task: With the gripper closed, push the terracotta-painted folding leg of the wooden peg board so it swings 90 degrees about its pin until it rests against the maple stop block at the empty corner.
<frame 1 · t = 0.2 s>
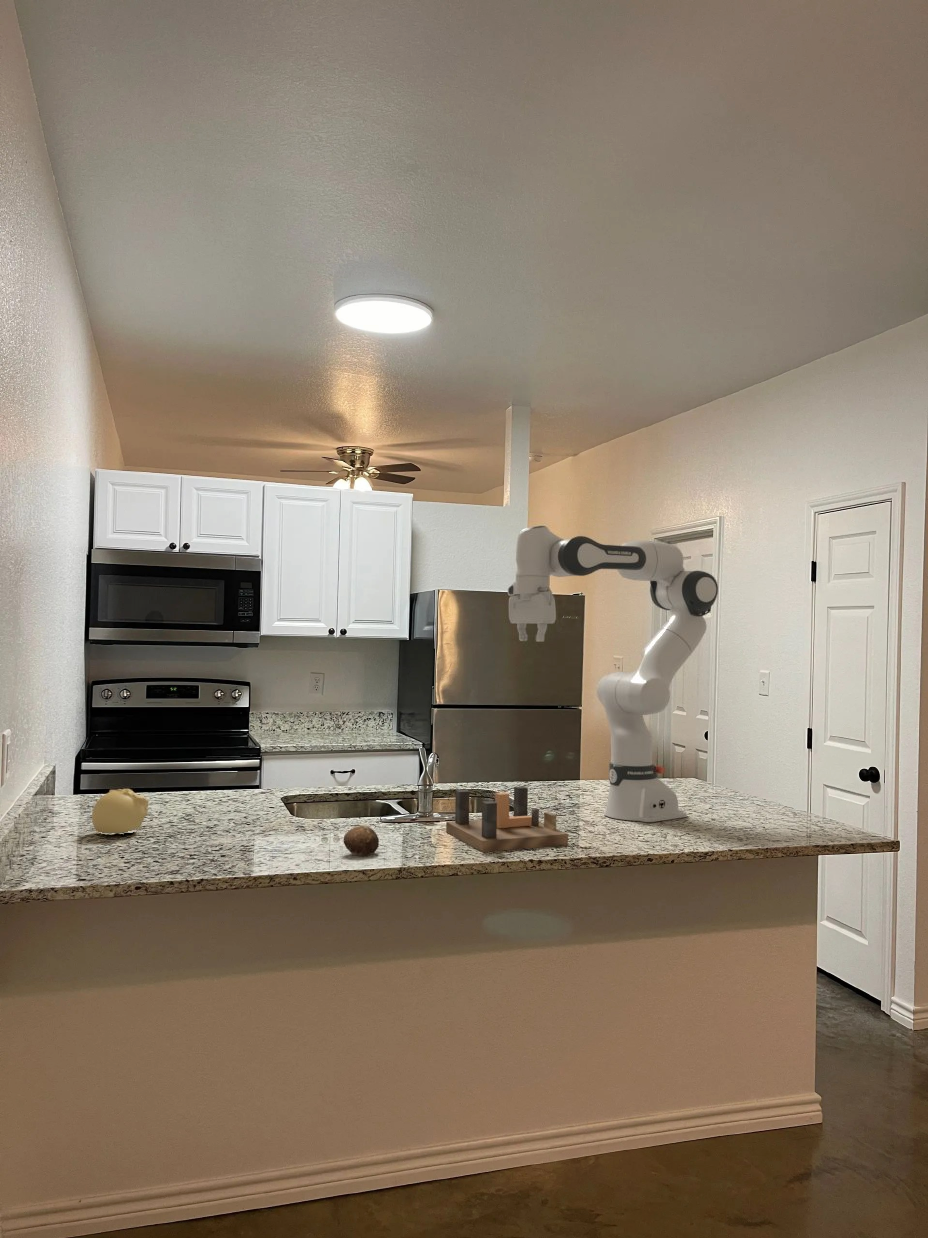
hand: (531, 641, 242), 47 cm above the countertop, fingers open, 8 cm apart
sculpture: (118, 835, 223), on the countertop
brown rounded lump: (361, 854, 207), on the countertop
wooden peg board: (505, 838, 224), on the countertop
swing leg: (513, 809, 225), point 7 cm above the countertop, hinge at 0.0°
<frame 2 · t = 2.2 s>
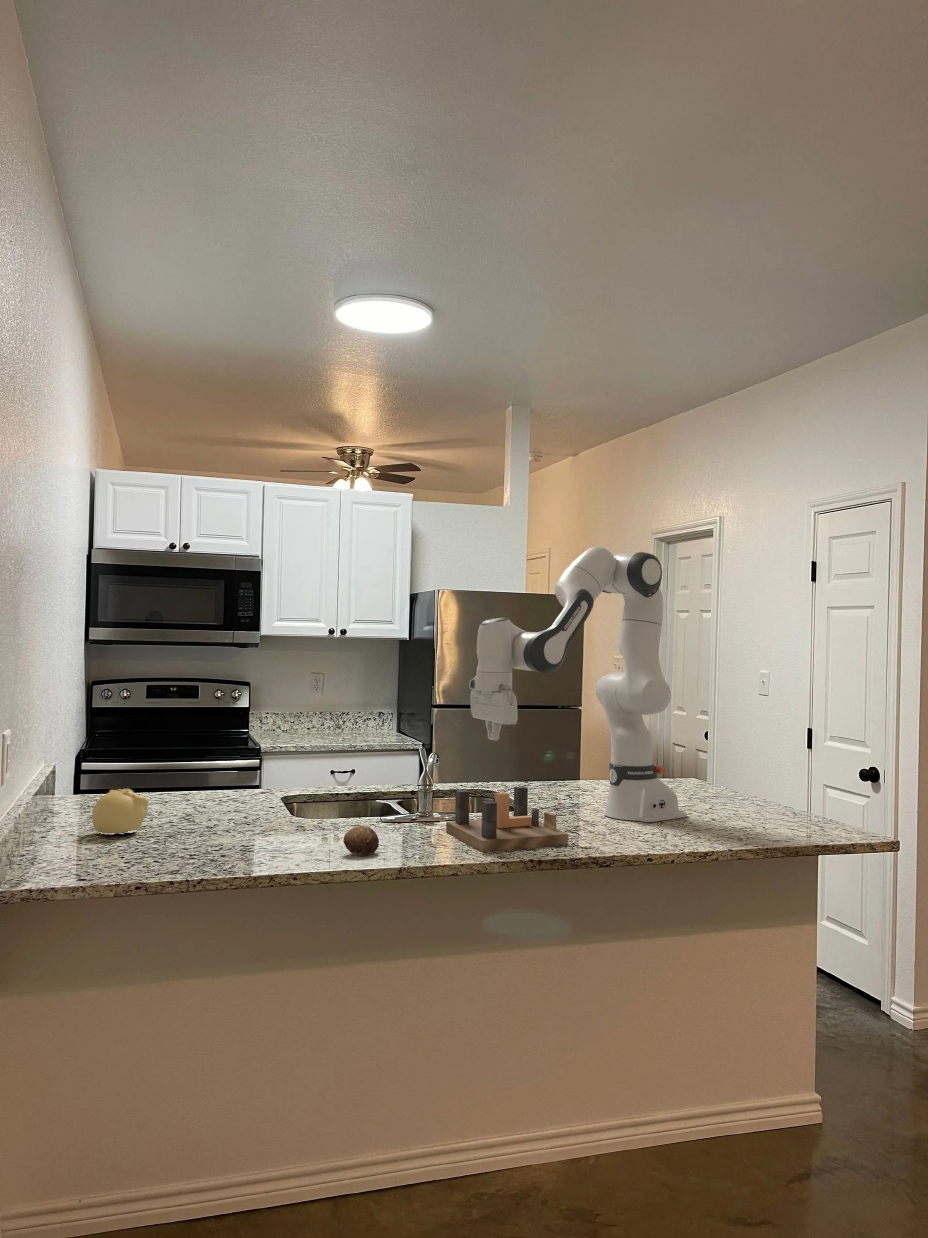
hand: (493, 739, 229), 23 cm above the countertop, fingers closed
nothing on the countertop moved.
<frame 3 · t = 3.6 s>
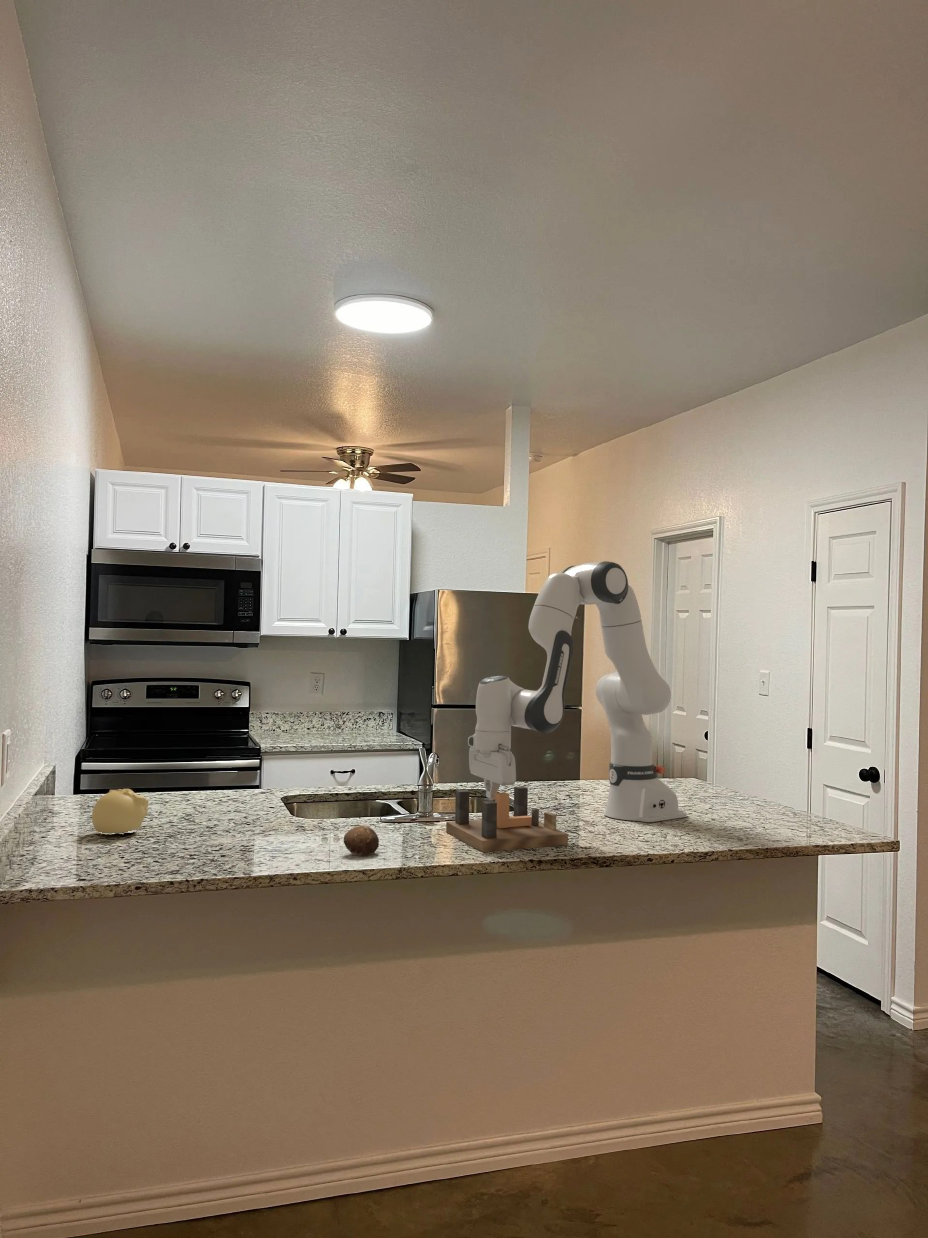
hand: (491, 798, 229), 9 cm above the countertop, fingers closed
nothing on the countertop moved.
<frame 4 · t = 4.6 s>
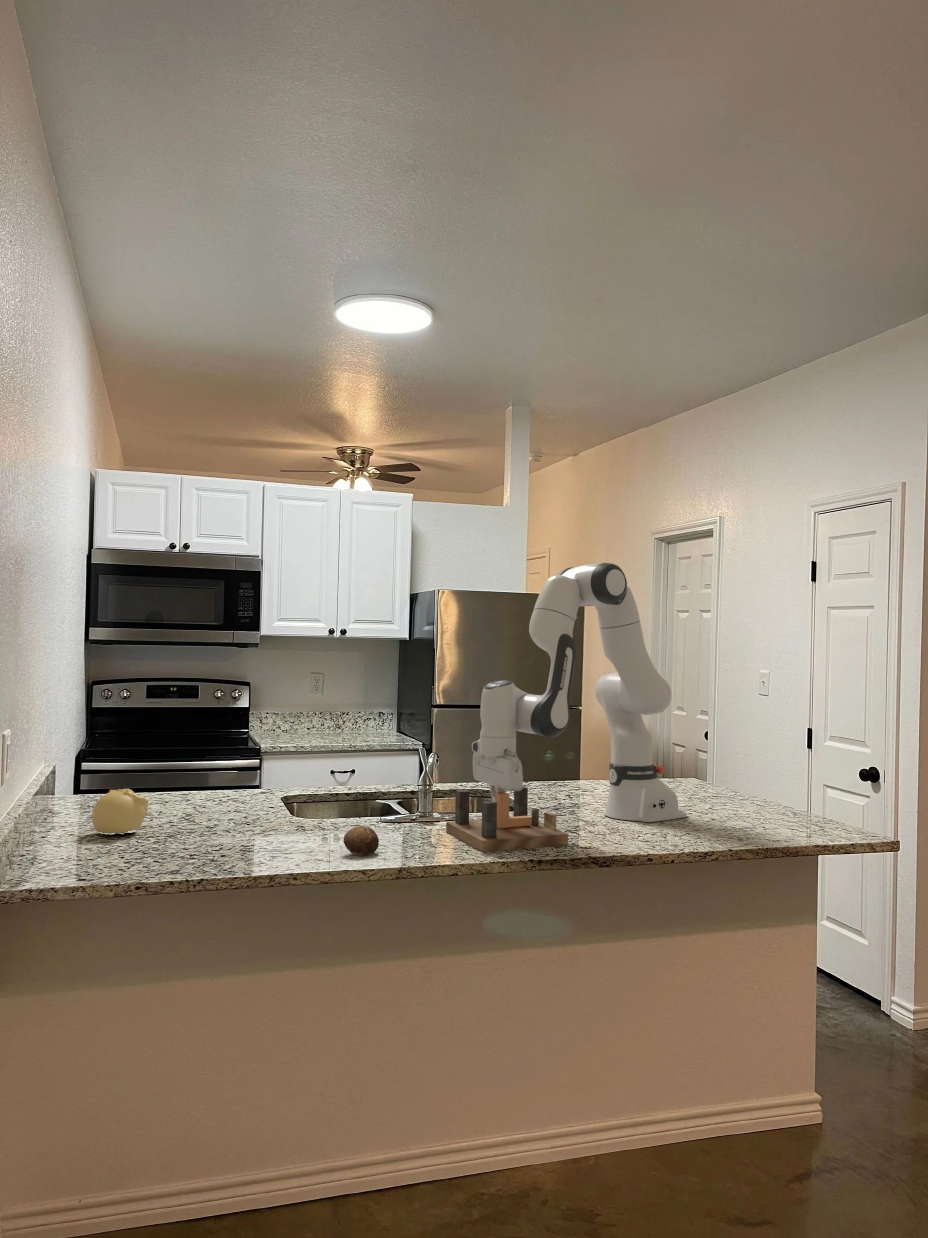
hand: (497, 804, 227), 8 cm above the countertop, fingers closed
swing leg: (513, 809, 225), point 7 cm above the countertop, hinge at 0.1°, touching gripper
everything else where it was.
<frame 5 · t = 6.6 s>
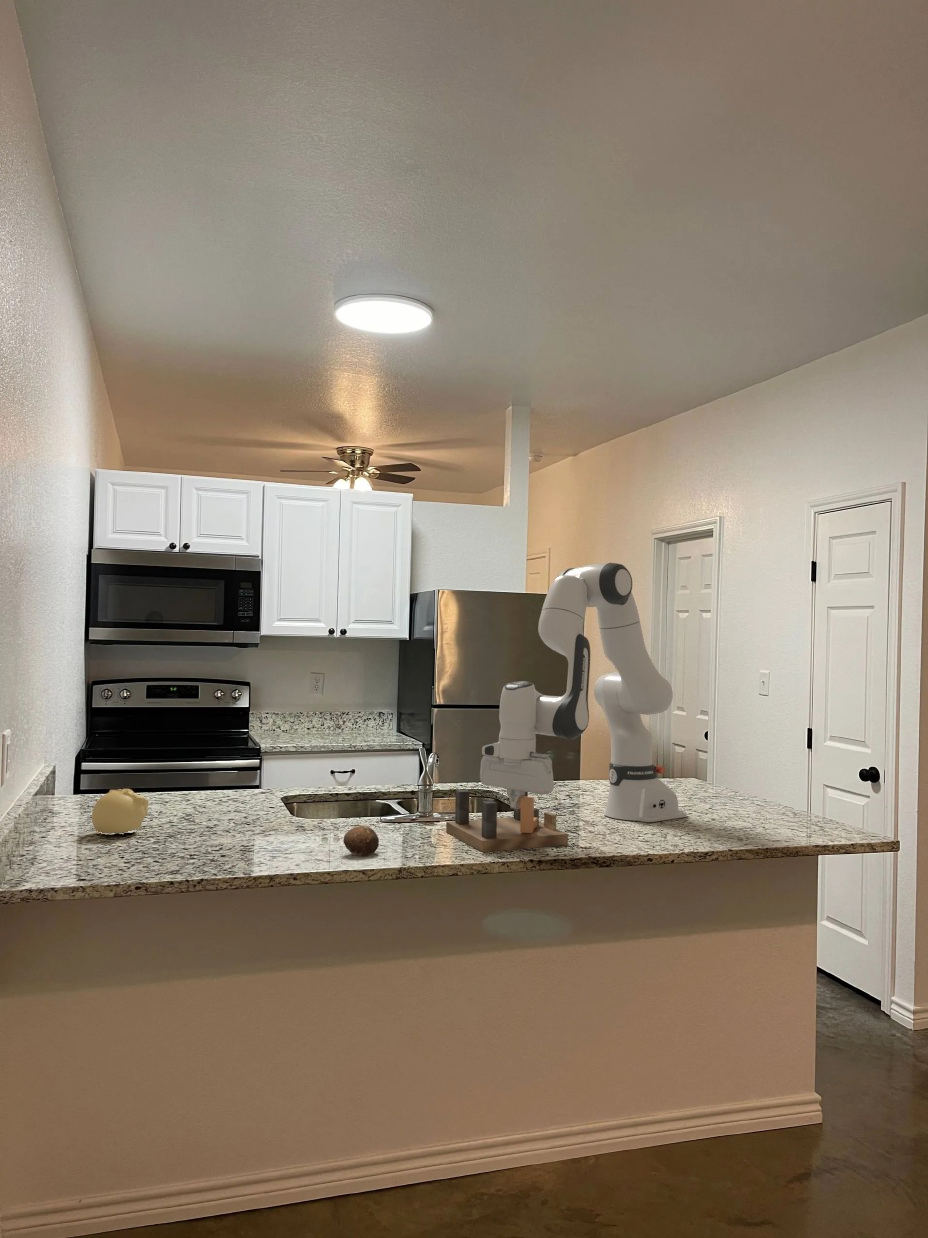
hand: (515, 808, 221), 8 cm above the countertop, fingers closed
swing leg: (530, 812, 222), point 7 cm above the countertop, hinge at 50.5°, touching gripper
everything else where it was.
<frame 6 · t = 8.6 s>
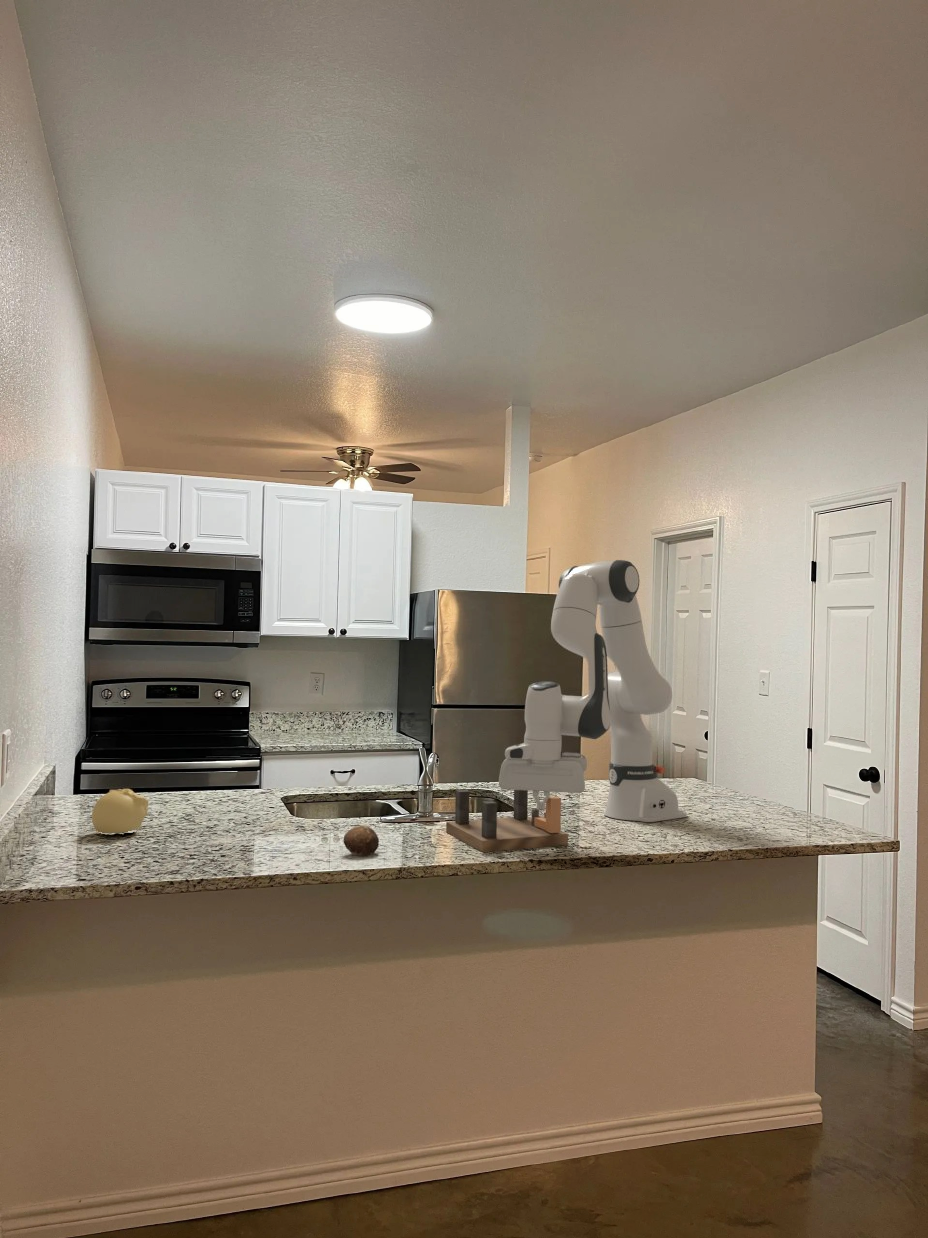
hand: (541, 810, 219), 8 cm above the countertop, fingers closed
swing leg: (546, 812, 222), point 7 cm above the countertop, hinge at 90.6°, touching gripper
everything else where it was.
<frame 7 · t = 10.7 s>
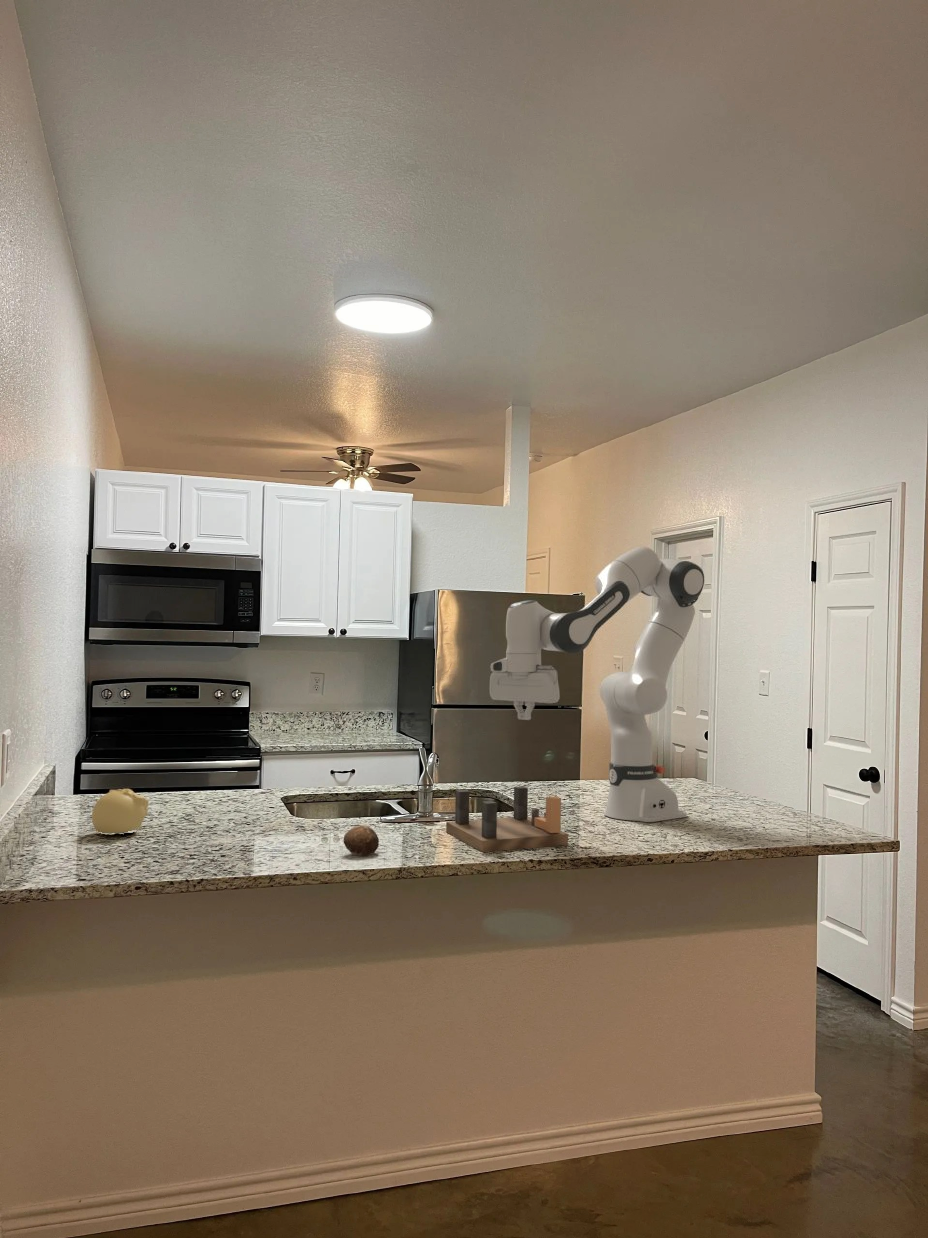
hand: (524, 719, 235), 28 cm above the countertop, fingers closed
swing leg: (546, 812, 222), point 7 cm above the countertop, hinge at 90.6°
everything else where it was.
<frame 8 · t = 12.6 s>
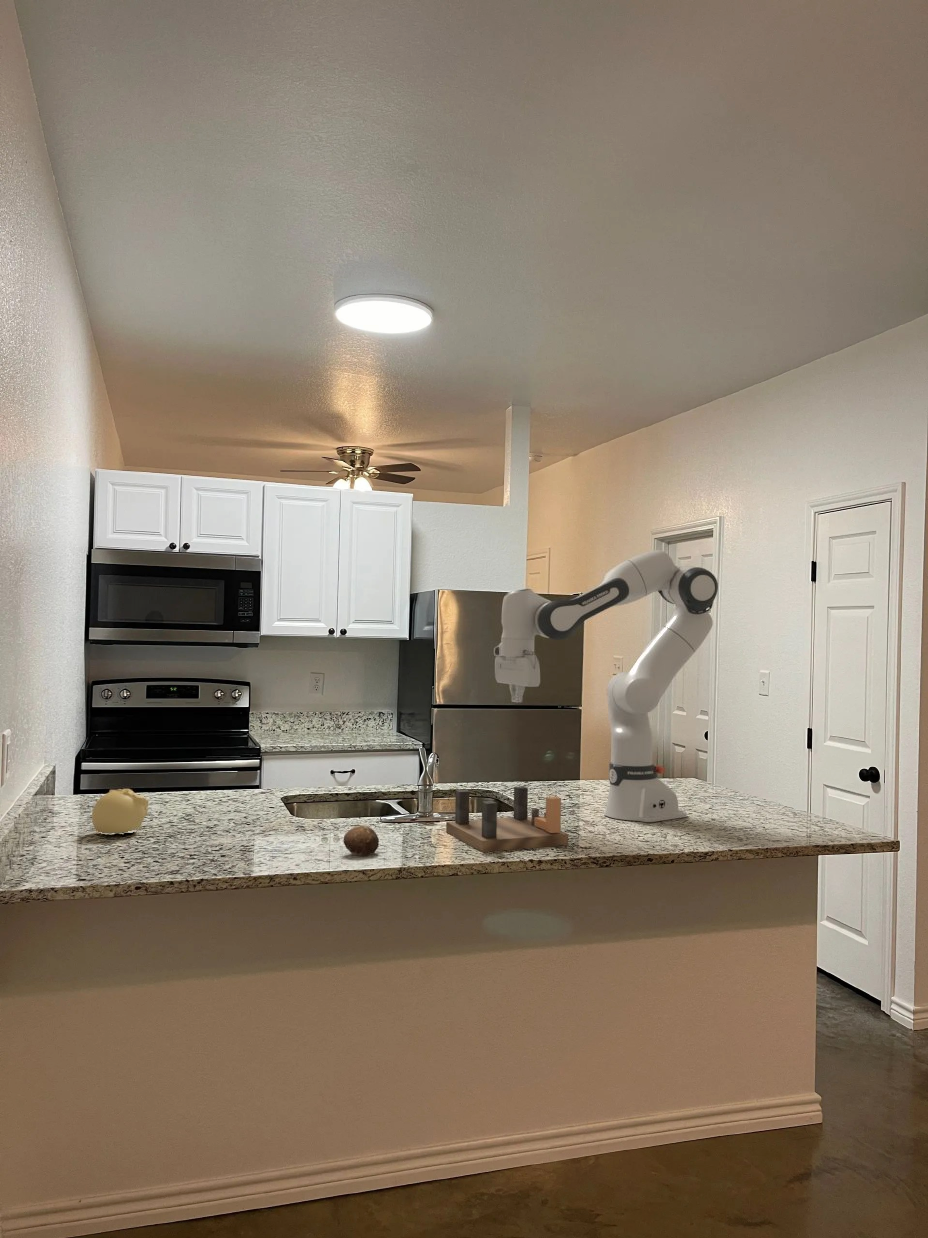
hand: (516, 702, 247), 31 cm above the countertop, fingers closed
nothing on the countertop moved.
at the end: swing leg at +91° (first picture: +0°) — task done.
